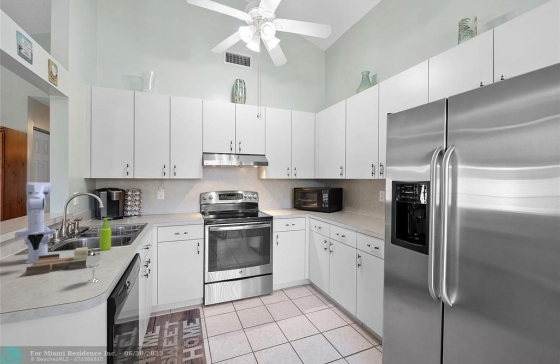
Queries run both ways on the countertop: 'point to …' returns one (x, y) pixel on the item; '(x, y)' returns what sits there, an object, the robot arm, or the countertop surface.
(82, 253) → the maple block
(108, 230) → the soap dispenser
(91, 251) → the track
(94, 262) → the wineglass
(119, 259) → the countertop surface
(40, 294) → the countertop surface
